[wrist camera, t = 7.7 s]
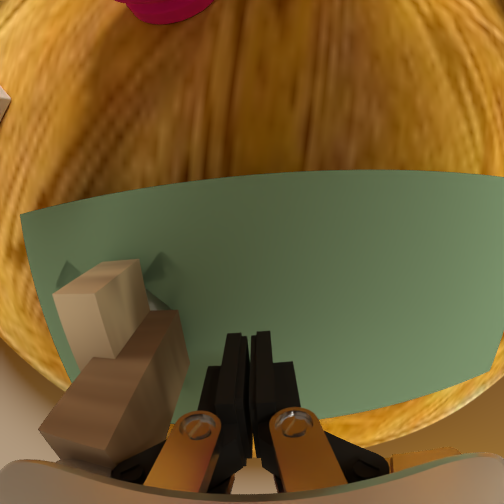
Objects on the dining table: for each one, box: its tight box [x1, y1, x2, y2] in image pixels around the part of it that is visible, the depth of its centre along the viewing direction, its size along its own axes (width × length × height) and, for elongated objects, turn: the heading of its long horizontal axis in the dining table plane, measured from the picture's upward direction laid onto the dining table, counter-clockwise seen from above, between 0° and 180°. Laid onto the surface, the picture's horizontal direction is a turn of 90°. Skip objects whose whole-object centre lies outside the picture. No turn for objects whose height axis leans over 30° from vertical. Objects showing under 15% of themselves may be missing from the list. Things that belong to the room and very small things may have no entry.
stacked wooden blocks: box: [38, 259, 190, 471], centre depth 9 cm, size 8×3×8 cm, turn 5°
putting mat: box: [20, 170, 504, 424], centre depth 15 cm, size 14×30×4 cm, turn 95°
